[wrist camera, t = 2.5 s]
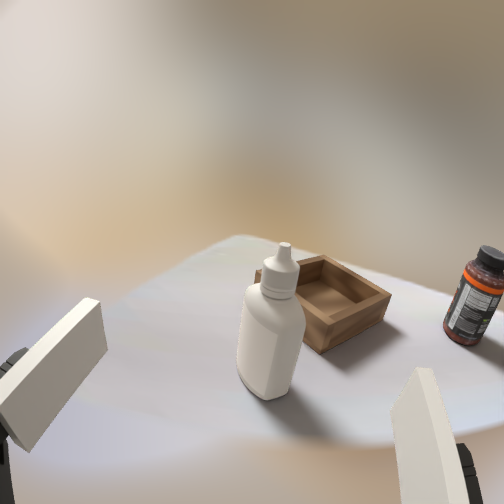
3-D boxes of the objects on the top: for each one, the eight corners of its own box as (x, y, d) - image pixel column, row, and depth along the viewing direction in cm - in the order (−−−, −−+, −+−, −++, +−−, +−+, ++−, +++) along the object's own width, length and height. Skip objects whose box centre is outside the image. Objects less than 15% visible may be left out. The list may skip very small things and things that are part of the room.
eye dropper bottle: (231, 399, 23) (248, 259, 18) (236, 352, 28) (252, 225, 23) (287, 404, 23) (326, 268, 18) (285, 357, 28) (312, 233, 23)
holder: (382, 319, 35) (391, 294, 33) (319, 354, 28) (328, 325, 27) (318, 278, 42) (324, 254, 41) (252, 297, 36) (255, 270, 35)
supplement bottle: (450, 315, 37) (480, 238, 32) (483, 335, 32) (518, 258, 28) (434, 330, 33) (468, 244, 29) (471, 354, 29) (512, 267, 24)
